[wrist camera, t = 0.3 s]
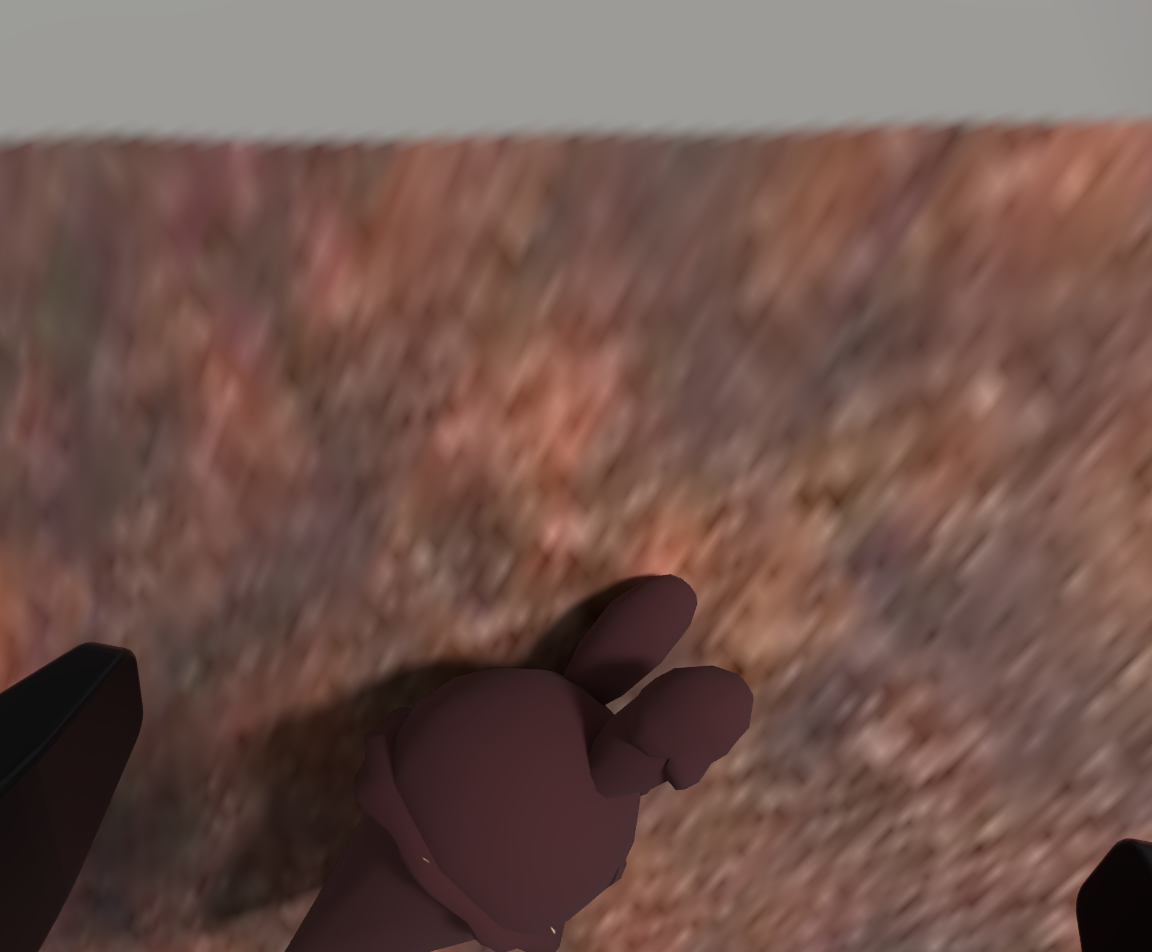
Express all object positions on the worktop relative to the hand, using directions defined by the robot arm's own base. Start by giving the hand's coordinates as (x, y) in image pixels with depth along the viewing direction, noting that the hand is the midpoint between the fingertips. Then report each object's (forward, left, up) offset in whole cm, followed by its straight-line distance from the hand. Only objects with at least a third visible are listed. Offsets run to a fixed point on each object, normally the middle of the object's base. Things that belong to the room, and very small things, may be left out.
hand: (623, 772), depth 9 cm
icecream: (-9, -6, -16) cm, 19 cm away
